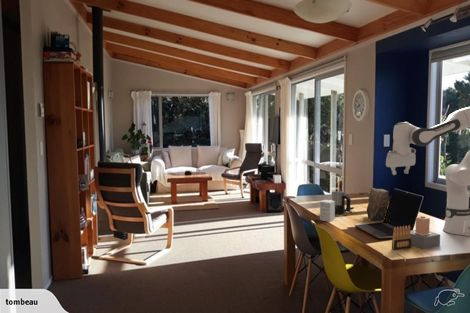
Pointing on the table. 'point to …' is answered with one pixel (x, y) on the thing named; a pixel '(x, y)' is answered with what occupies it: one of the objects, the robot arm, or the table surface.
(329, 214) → the supplement box
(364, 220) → the table surface
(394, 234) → the ammunition clip
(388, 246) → the table surface
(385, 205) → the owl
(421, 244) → the base block
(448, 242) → the table surface
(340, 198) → the milk frother
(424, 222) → the block
